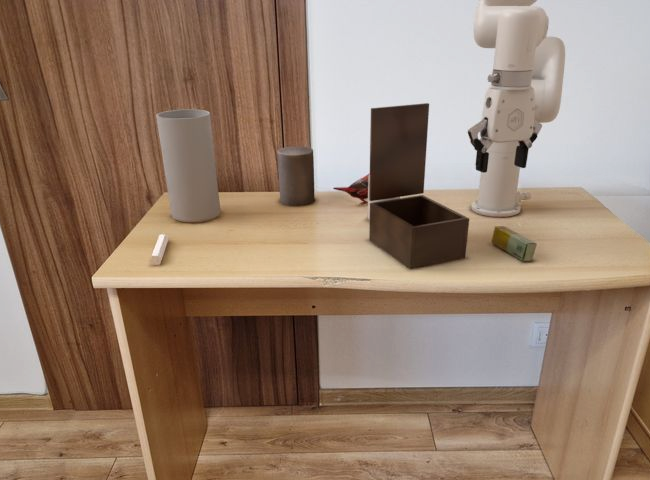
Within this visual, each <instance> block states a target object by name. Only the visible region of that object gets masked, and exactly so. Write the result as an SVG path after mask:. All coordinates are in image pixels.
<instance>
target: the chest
mask: <svg viewBox="0 0 650 480" xmlns="http://www.w3.org/2000/svg"><path fill="white" fill-rule="evenodd" d="M469 225H470V218H469V217H467V216H465V215H463V214H462V213H460V212H457V211H456V210H454V209H452V208H450V207H448V206H446V205H443V204H442V203H440V202H437V201H435V200H434V199H432V198H429V197H427V196H425V195H423V194H419V195H412V196H405V197H400V198H399V199H393V200H386V201H379V202H372V203H370V221H369V234H368V235H369V238H368V239H369V242H371V243H372V244H374V245H375V246H377V247H378V248H379V249H381V250H382V251H384V252H385V253H387V254H388V255H389V256H391V257H392V258H393V259H395V260H396V261H398V262H399V263H401V264H402V265H403V266H405V267H406V268H408V269H409V270H413V269H417V268H422V267H427V266H432V265H439V264H442V263H443V264H444V263H449V262H453V261H454V262H455V261H458V260H462V259H466V256H467V247H468V245H467V244H468V235H469Z"/></svg>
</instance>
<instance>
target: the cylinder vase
mask: <svg viewBox="0 0 650 480" xmlns="http://www.w3.org/2000/svg"><path fill="white" fill-rule="evenodd" d="M155 116H156V123H157V129H158V136H159V137H158V138H159V142H160V149H161V156H162V163H163V170H164V175H165V176H164V177H165V183H166V189H167V196H168V201H169V209H170V215H171V217H172V219H173V220H175V221H178V222H181V223H190V224H192V223H193V224H196V223H204V222H209V221H211V220H214V219H216V218H218V217H219V216H220V215H221V201H220V193H219V186H218V185H219V184H218V176H217V174H218V173H217V167H216V156H215V148H214V147H215V146H214V139H213V131H212V121H211V112H210V111H208V110H203V109H174V110H166V111H162V112H159V113H157V114H155Z"/></svg>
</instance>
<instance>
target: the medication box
mask: <svg viewBox="0 0 650 480" xmlns="http://www.w3.org/2000/svg"><path fill="white" fill-rule="evenodd" d="M490 243H492V244H493V245H495V246H496V247H498V248H500V249H502V250H503V251H504V252H507V253H508V254H510V255H512V256H513V257H515V258H517V259H519V260H520V261H521V262H523V263H524V262H525V263H528V262H533V259H534V256H535V252H536V249H537V245H538V243H537V242H535V241H533V240H531V239H529V238H527V237H525V236H523V235H521V234H520V233H518V232H516V231H514V230H512V229H510V228H509V227H507V226H505V225H495V226H494V229H493V233H492V237H491V241H490Z"/></svg>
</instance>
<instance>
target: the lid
mask: <svg viewBox="0 0 650 480" xmlns="http://www.w3.org/2000/svg"><path fill="white" fill-rule="evenodd" d="M429 112H430V103H428V102H426V103H425V102H423V103H413V104H404V105H391V106H381V107H371V108H370V133H369V134H370V135H369V173H370V183H369V200H370V201H375V200H382V199H389V198H396V197H400V198H403V197H410V196H417V195H423V194H424V192H425V177H426V163H427V147H428V145H427V144H428V130H429V129H428V128H429V115H430V113H429Z"/></svg>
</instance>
